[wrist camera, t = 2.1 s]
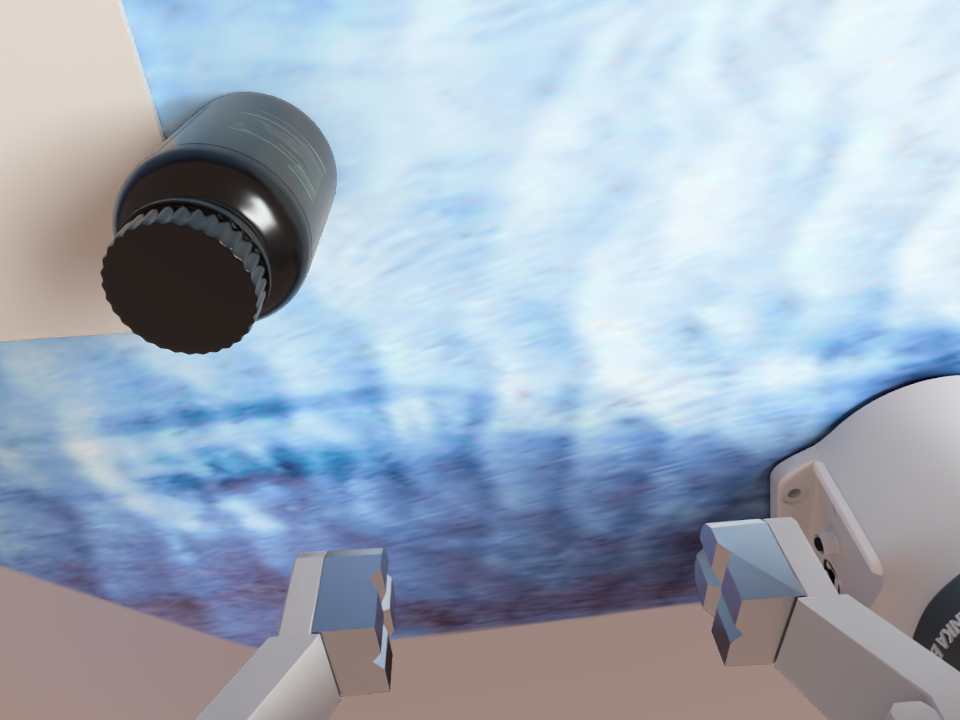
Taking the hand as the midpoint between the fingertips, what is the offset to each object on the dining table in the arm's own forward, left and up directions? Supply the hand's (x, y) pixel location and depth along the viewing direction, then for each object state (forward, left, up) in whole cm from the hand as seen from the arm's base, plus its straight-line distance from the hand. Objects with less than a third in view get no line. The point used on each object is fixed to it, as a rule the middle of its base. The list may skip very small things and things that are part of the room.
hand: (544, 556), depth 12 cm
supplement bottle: (0, +10, -23) cm, 25 cm away
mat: (0, +20, -23) cm, 31 cm away
